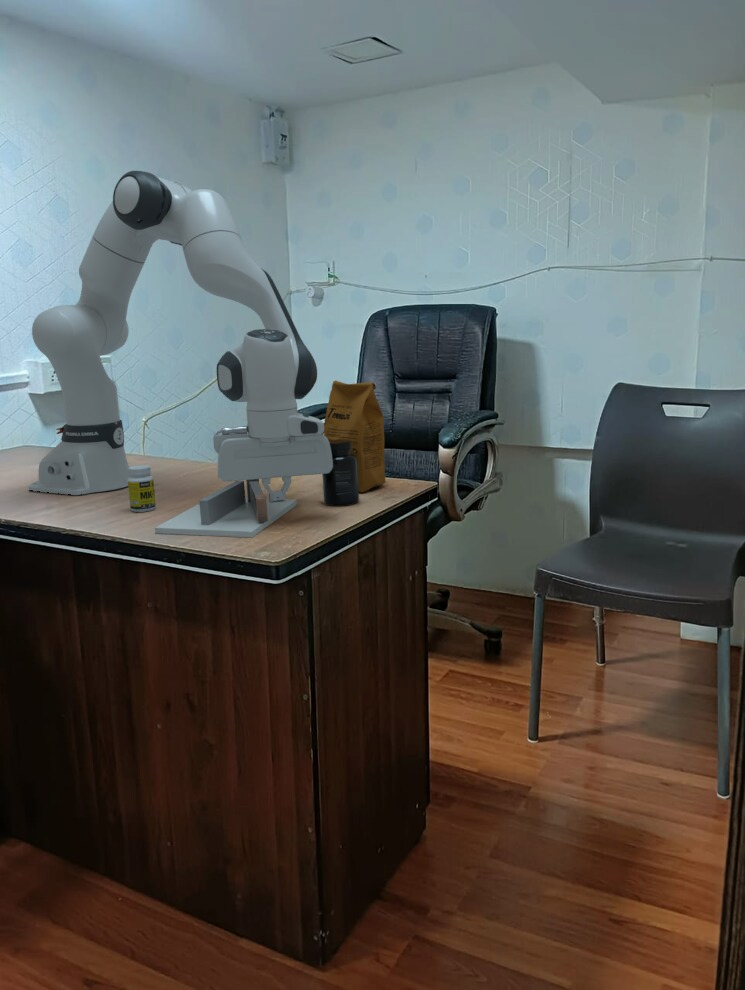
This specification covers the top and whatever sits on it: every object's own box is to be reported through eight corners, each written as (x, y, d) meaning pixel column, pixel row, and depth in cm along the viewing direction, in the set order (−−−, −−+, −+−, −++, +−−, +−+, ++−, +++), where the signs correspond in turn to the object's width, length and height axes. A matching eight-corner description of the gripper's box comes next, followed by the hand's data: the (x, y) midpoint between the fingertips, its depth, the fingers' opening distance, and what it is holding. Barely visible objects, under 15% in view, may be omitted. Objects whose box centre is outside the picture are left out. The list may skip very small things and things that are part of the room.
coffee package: (350, 479, 175) (345, 377, 170) (392, 486, 167) (389, 380, 162) (317, 487, 168) (311, 382, 163) (359, 495, 160) (355, 385, 155)
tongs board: (155, 533, 138) (152, 502, 137) (211, 502, 159) (209, 475, 158) (252, 537, 134) (249, 505, 132) (297, 504, 154) (295, 476, 153)
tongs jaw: (258, 522, 138) (256, 499, 137) (250, 501, 153) (248, 480, 152) (267, 521, 138) (266, 498, 137) (259, 500, 153) (257, 480, 152)
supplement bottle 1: (142, 513, 152) (138, 470, 150) (125, 511, 154) (120, 468, 152) (161, 507, 156) (157, 465, 154) (144, 505, 158) (140, 463, 156)
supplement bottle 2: (363, 498, 157) (361, 438, 154) (351, 507, 151) (349, 444, 148) (331, 497, 159) (328, 437, 157) (318, 505, 153) (314, 443, 150)
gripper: (213, 431, 135) (219, 510, 138) (332, 423, 139) (336, 500, 142) (211, 426, 141) (217, 502, 144) (326, 418, 145) (329, 492, 148)
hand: (277, 501), depth 143 cm, fingers closed
